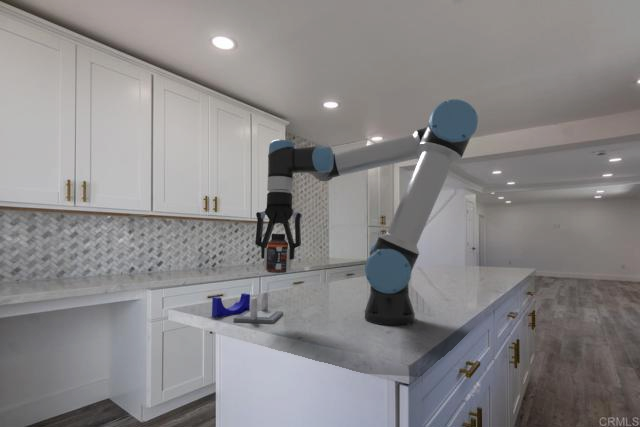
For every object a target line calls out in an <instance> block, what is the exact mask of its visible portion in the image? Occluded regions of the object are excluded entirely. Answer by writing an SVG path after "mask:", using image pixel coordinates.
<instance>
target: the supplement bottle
mask: <svg viewBox="0 0 640 427" xmlns="http://www.w3.org/2000/svg"><path fill="white" fill-rule="evenodd" d="M267 248H268V255H267V270H266V272H268V273H272V274H285V273H287V272H288V271H286V261H287V249H288V248H289V243H288V241H286V233H271V236H270V240H269V242H268V245H267Z"/></svg>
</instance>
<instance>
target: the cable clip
mask: <svg viewBox="0 0 640 427" xmlns="http://www.w3.org/2000/svg"><path fill="white" fill-rule="evenodd" d="M211 306H212V307H211V317H214V318H222V317H226V316H233V315H238V314H239V315H240V314H242V313H243V312H245V311H247V310H251V294H250V293H246V292H245V293H241V294H240V299H239V300H238V301H237V302H234V304H233V305H232V306H230V307H227V308H226V307H225V305H224V304H223V301H222V297H218V296H212V303H211Z"/></svg>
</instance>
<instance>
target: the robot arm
mask: <svg viewBox="0 0 640 427" xmlns="http://www.w3.org/2000/svg"><path fill="white" fill-rule="evenodd" d="M478 123H479V117H478V114H477V112H476V109H475V108H474V107H473V106H472V105H471V104H470V103H469V102H467V101H465V100H461V99H457V98H456V99H447V100H444V101H442V102H440V103H439V104H438V105H437V106H435V108H433V110H432V111H431V113H430V115H429V120H428V124H427V126H425V127H423V128H420V129H416V130H414V132H413V134H409V135H406V136H400V137H397V138H393V139H389V140H386V141H385V140H384V141H381V142H377V143H373V144H369V145H364V146H361V147H356V148H352V149H347V150H344V151H339V152H336V153H333V149H332V148H331V147H330V146H321V145H318V146H302V147H295V144H294V143H293V141H291V140H289V139H275V140H272V141H271V142H270V143H269V145H268V146H269V147H268V155H267V157H268V159H267V170H268V171H267V184H266V185H267V189H266V190H267V195H266V208H265V210H264V211H257V212H256V213H255V214H256V215H255V216H256V219H257V221H256V222H257V224H256V232H255V241H254V244H255V246H257V247H260V250H261V251H260V253H261V254H260V257H261V260H262V259H263V260H264V261H263V271H267V255H268V242H269V241H270V240H271V236H272V234H273V230H274V227H275V226H276V224H282V225H283V229H284V231H285V232H284V233H285V237H286V240H287V243H288V249H287V261H286V271H287V272H290V271H291V268H292V267H291V266H292V264H291V263H292V260H294V259H295V254H296V253H295V249H296V248H299V247H301V245H302V237H301V236H302V234H301V220H302V217H303V214H302V213H300V212H295V211H294V210H293V194H292V192H293V185H294V184H293V182H294V178H293V177H294V176H293V175H294V174H296V173H297V174H298V173H300V174H302V173H303V174H305V173H308V174H310V175H312V176H313V177H314V178H315V179H316V180H318V181H320V182H329V181H331V180H333V178H337V177H340V176H344V175H350V174H353V173H359V172H363V171H368V170H372V169H376V168H380V167H385V166H390V165H395V164H399V163H403V162H407V161H411V160H418V161H417V163H416V165H415V167H414V170H413V172H412V175H411V177H410V178H409V181H408V184H407V186H406V188H405V191H404V193H403V195H402V197H401V199H400V202H399V204H398V206H397V208H396V211H395V213H394V215H393V218H392V220H391V222H390V224H389V227H388V229H387V231H386V233H383V234H381V235H379V236H378V238H377V241H376V243H374V244H372V245H371V246H370V251H369V256H368V258H367V259H366V261H365V266H364V275H365V277H366V280H367V282H368V284H369V285H370V294H369V297H368V301H367V303H366V306H365V309H364V319H365V320H366V321H367V322H371V323H374V324H379V325H386V326H387V325H388V326H403V325H410V324H413V323H415V322H416V316H415V315H416V314H415V310H414V307H413V303H412V300H411V298H410V294H409V291H410V290H409V283H410V280H411V276H412V271H413V269H414V266H415V264H416V262H417V260H418V258H419V255H420V252H419V248H418V243H419V241H420V239H421V236H422V234H423V231H424V230H425V228H426V225H427V222H428V220H429V218H430V217H431V214H432V211H433V209H434V207H435V204H436V203H437V200H438V198H439V195H440V193H441V191H442V189H443V186H444V184H445V183H446V182H445V181H446V180H447V177H448V175H449V173H450V170H451V168H452V166H453V165H454V164H455V163H458V162H460V161H461V160H462V158H463V156H464V154H465V151H466V149H467V147H468V145H469V143H470V140H471V138H472V136H473V135H474V134H475V133H476V131H477V127H478ZM292 216H293V220H294V235H295V236H294V238H295V241H294V238H293V233H292V230H291V227H290V219H291V217H292ZM266 217H267V218H268V220H269V221H268V223H267V227H266V229H265V232H264V236H263V231H264V219H265V218H266Z"/></svg>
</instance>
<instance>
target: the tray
mask: <svg viewBox="0 0 640 427" xmlns="http://www.w3.org/2000/svg"><path fill="white" fill-rule="evenodd" d="M258 301H259V300H258V297H250V310H247V311H245V312H243V313H240V314H239V315H238V314H237V316H235V317H234V318H233V323H254V324H255V323H256V324H274V323H275V322H277V321H278V319H280V318H281V317H282V316H284V311H283V310H269V291H262V292H261V309H260V310H259V309H258V304H259V303H258Z"/></svg>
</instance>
